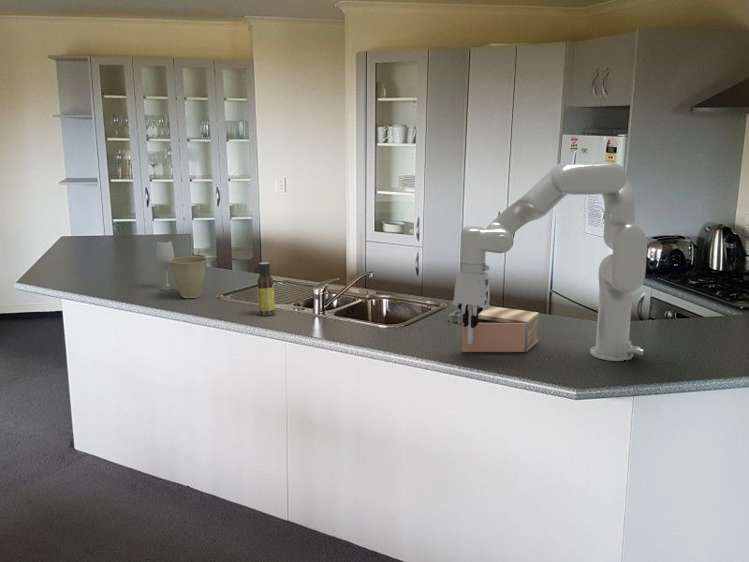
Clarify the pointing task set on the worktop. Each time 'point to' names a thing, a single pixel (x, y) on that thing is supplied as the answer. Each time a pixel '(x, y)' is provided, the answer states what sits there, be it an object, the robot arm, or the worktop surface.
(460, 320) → the egg carton
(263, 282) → the sauce bottle
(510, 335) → the door
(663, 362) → the worktop surface
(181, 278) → the plant pot
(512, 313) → the cabinet
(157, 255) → the wineglass
